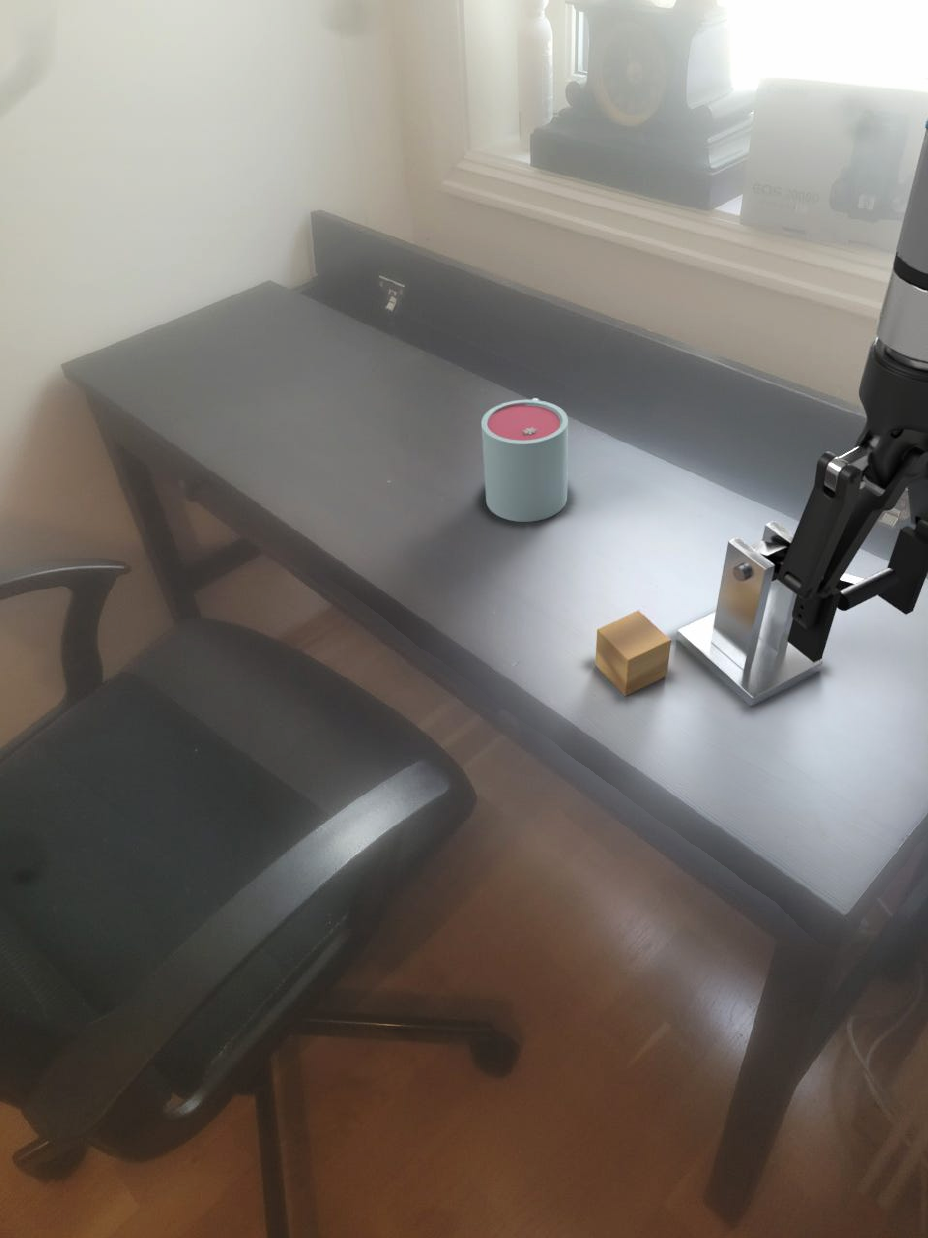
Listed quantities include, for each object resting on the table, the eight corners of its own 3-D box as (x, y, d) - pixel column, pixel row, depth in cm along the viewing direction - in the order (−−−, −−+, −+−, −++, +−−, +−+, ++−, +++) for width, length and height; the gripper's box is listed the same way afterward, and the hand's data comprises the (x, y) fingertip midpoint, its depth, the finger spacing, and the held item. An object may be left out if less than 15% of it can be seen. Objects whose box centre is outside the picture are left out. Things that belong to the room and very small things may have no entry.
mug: (560, 524, 95) (561, 446, 88) (478, 518, 97) (473, 440, 90) (576, 457, 105) (578, 381, 98) (501, 452, 107) (498, 378, 100)
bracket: (820, 671, 77) (854, 559, 68) (750, 707, 74) (777, 596, 66) (742, 607, 83) (764, 498, 75) (676, 639, 81) (690, 529, 72)
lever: (900, 594, 63) (898, 564, 62) (850, 619, 62) (848, 589, 61) (778, 560, 74) (775, 534, 73) (733, 581, 72) (729, 555, 71)
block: (666, 676, 78) (671, 639, 74) (625, 696, 76) (628, 660, 73) (635, 646, 81) (638, 609, 78) (594, 665, 79) (596, 629, 76)
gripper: (1008, 278, 56) (910, 551, 71) (754, 372, 49) (706, 651, 65) (1122, 317, 51) (990, 601, 66) (857, 428, 44) (778, 715, 60)
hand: (850, 625), depth 66 cm, fingers open, 9 cm apart
